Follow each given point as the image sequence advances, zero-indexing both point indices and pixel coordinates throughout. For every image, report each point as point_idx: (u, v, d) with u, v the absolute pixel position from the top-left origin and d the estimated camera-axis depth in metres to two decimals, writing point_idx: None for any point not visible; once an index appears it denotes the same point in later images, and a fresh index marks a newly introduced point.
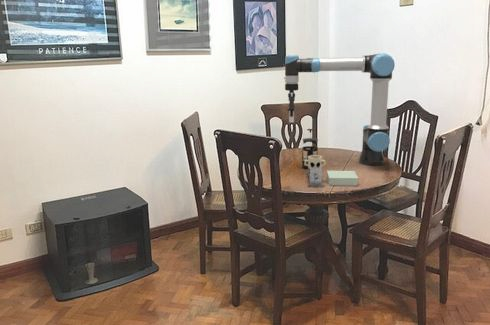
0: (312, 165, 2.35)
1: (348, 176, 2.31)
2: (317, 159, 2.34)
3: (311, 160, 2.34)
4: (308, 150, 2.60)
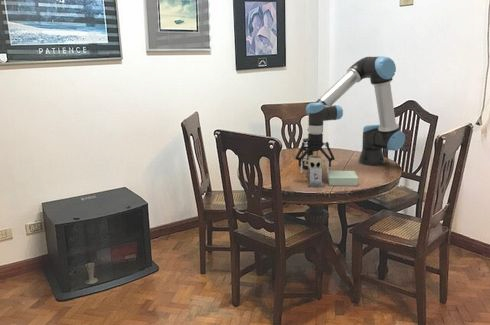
0: (312, 165, 2.35)
1: (348, 176, 2.31)
2: (317, 159, 2.34)
3: (311, 160, 2.34)
4: None
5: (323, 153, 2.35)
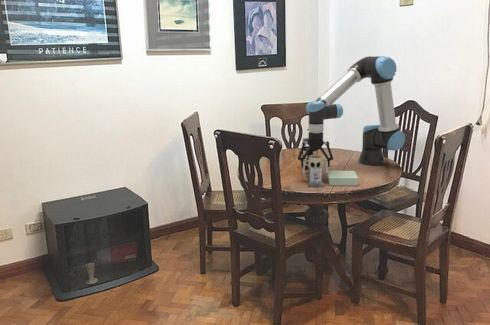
0: (312, 165, 2.35)
1: (348, 176, 2.31)
2: (317, 159, 2.34)
3: (311, 160, 2.34)
4: None
5: (323, 152, 2.35)
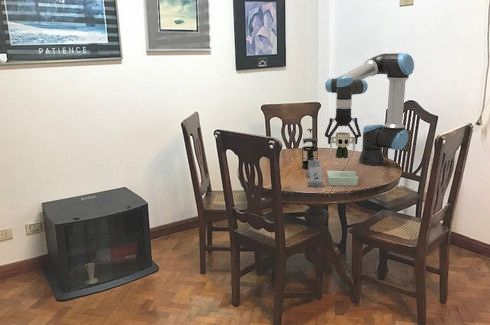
0: (340, 142, 2.29)
1: (348, 176, 2.31)
2: (345, 136, 2.28)
3: (339, 137, 2.28)
4: (308, 150, 2.60)
5: (350, 129, 2.29)
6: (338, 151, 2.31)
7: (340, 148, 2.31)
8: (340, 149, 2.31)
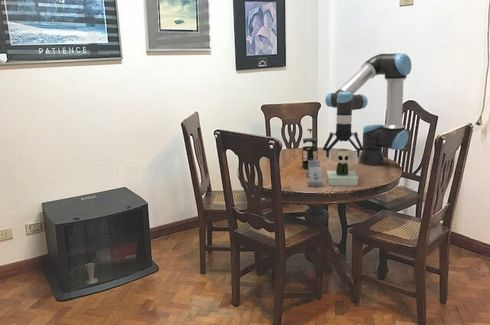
0: (340, 158, 2.31)
1: (348, 176, 2.31)
2: (345, 152, 2.30)
3: (339, 153, 2.30)
4: (308, 150, 2.60)
5: (351, 143, 2.30)
6: (338, 167, 2.33)
7: (340, 164, 2.33)
8: (340, 165, 2.32)
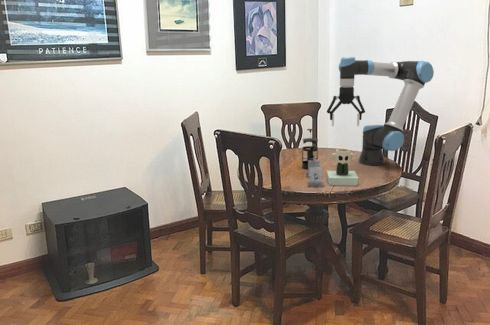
0: (340, 158, 2.31)
1: (348, 176, 2.31)
2: (345, 152, 2.30)
3: (339, 153, 2.30)
4: (308, 150, 2.60)
5: (354, 106, 2.42)
6: (338, 167, 2.33)
7: (340, 164, 2.33)
8: (340, 165, 2.32)
